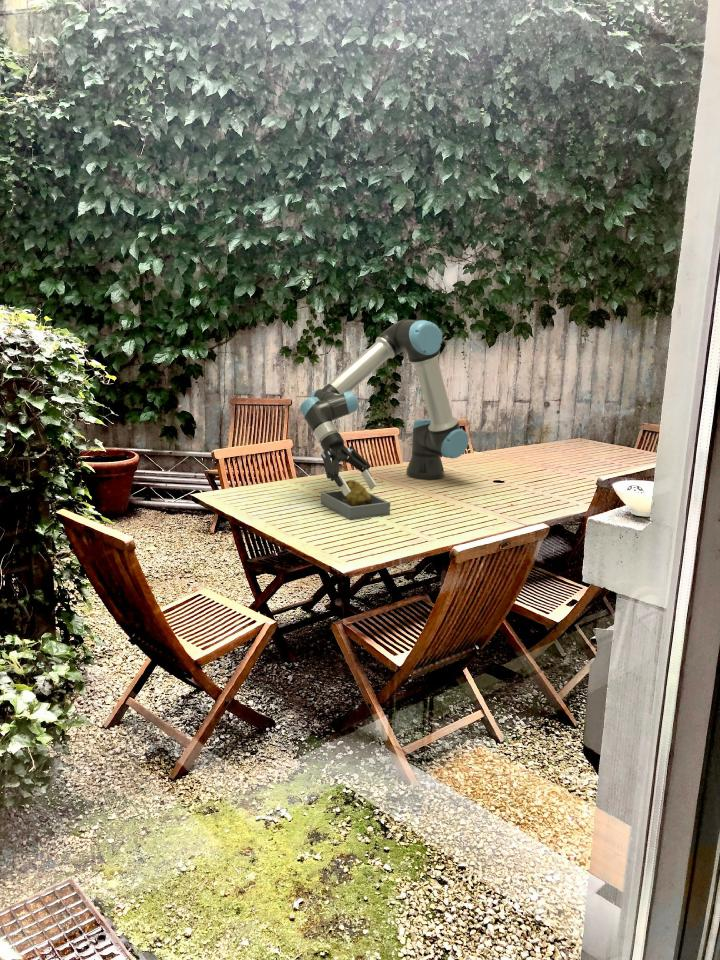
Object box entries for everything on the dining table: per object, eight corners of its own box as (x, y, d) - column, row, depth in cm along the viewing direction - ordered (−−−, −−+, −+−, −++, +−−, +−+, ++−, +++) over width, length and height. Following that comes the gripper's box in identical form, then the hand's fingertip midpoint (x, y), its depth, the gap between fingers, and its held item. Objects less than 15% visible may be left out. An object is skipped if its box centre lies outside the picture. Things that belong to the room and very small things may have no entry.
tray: (320, 504, 240) (321, 492, 239) (358, 499, 247) (359, 488, 246) (350, 519, 223) (350, 507, 222) (389, 514, 231) (390, 502, 230)
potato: (349, 510, 228) (350, 486, 226) (337, 501, 240) (338, 478, 238) (373, 509, 231) (374, 485, 229) (360, 501, 242) (361, 478, 241)
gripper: (347, 440, 249) (378, 490, 243) (297, 448, 232) (329, 503, 226) (359, 427, 245) (391, 478, 238) (308, 435, 227) (341, 490, 221)
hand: (361, 490), depth 232 cm, fingers open, 12 cm apart
